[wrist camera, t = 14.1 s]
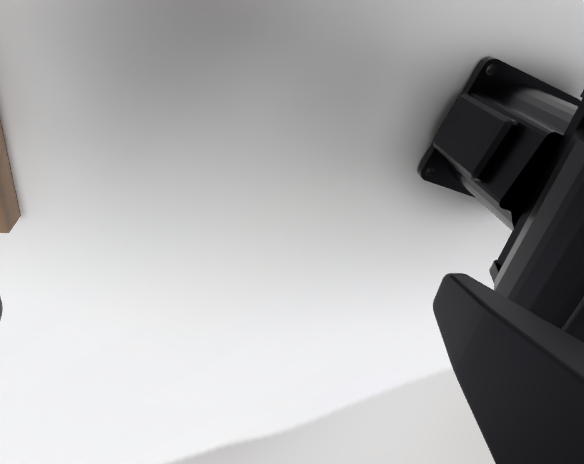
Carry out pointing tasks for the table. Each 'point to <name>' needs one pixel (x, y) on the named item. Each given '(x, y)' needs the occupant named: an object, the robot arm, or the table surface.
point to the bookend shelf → (6, 191)
